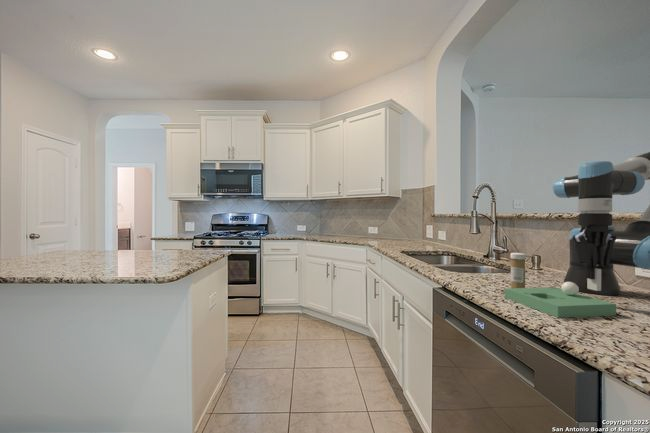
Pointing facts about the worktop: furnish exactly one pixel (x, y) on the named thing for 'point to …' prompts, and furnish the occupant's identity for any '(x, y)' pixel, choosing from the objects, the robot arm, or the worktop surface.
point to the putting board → (560, 302)
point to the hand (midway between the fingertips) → (594, 289)
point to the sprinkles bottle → (517, 270)
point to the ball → (570, 288)
